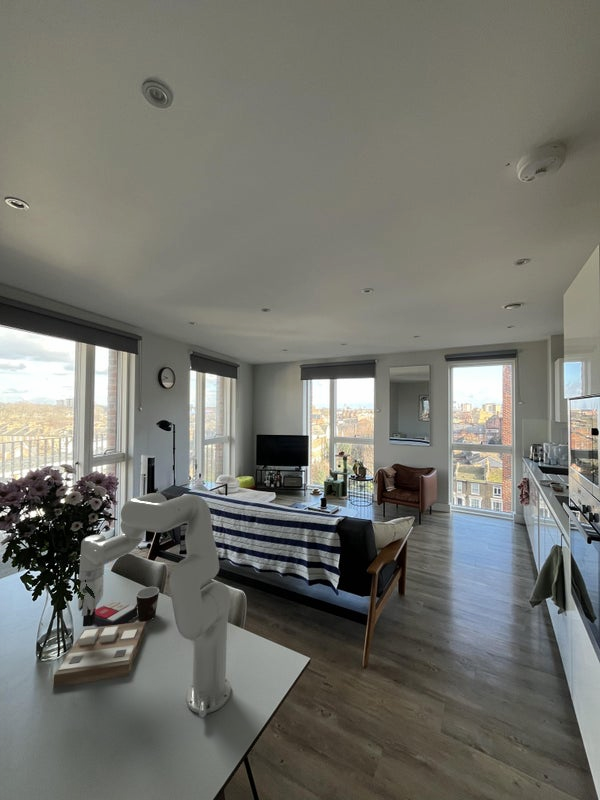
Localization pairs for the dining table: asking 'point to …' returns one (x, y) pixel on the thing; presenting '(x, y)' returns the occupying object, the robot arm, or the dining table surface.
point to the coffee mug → (146, 603)
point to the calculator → (114, 614)
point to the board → (100, 657)
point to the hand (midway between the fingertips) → (88, 624)
